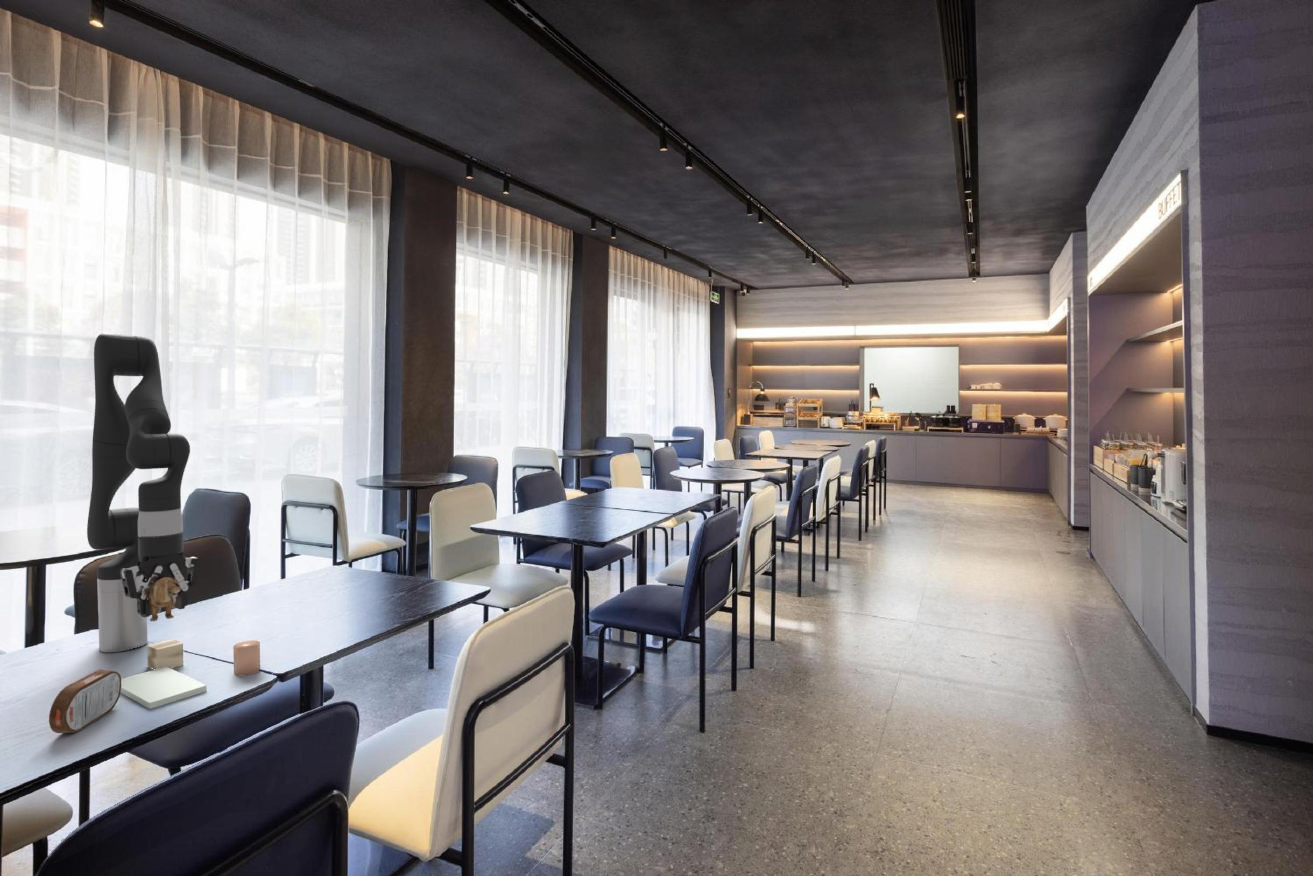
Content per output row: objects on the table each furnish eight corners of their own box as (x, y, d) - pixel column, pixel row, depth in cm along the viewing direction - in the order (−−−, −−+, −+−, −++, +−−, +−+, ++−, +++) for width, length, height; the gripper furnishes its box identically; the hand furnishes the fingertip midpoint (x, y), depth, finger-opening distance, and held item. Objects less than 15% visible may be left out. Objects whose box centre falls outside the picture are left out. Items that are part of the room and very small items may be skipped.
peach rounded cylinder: (229, 672, 150) (228, 645, 150) (252, 665, 155) (252, 639, 154) (241, 677, 148) (240, 650, 148) (264, 670, 152) (264, 643, 152)
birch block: (147, 667, 153) (147, 645, 153) (173, 660, 157) (172, 639, 157) (157, 672, 150) (157, 649, 150) (183, 665, 155) (182, 643, 154)
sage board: (111, 687, 142) (110, 681, 142) (166, 671, 150) (166, 666, 150) (149, 709, 132) (149, 703, 132) (206, 691, 141) (206, 685, 141)
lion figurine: (181, 621, 139) (181, 577, 139) (149, 626, 136) (148, 581, 135) (178, 604, 151) (177, 564, 150) (148, 608, 147) (147, 567, 147)
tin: (108, 704, 134) (107, 662, 134) (126, 704, 134) (124, 662, 134) (47, 742, 119) (45, 695, 119) (66, 742, 119) (65, 694, 119)
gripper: (190, 524, 149) (192, 601, 150) (110, 535, 137) (113, 618, 137) (208, 528, 145) (209, 607, 146) (127, 539, 133) (130, 625, 133)
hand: (162, 612), depth 142 cm, fingers closed on lion figurine, 6 cm apart
